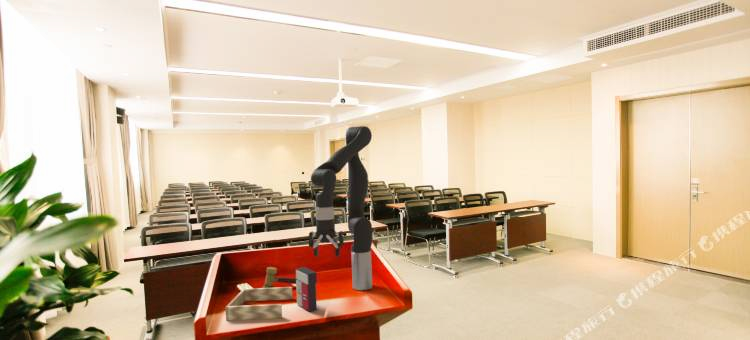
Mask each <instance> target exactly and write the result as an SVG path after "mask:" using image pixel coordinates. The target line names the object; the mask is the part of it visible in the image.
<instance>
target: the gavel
mask: <svg viewBox="0 0 750 340" xmlns="http://www.w3.org/2000/svg"><path fill="white" fill-rule="evenodd" d="M277 272H278V269H277V267H272V266H269V267H268V266H267V268H266V275H265V280H264V284H263V286H262V288H275V287H274V284H275V283H280V284H281V283H282V284H293V285H296V280H297V279H296V277H295V278H294V277H283V276H276V274H277Z"/></svg>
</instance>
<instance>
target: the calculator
mask: <svg viewBox="0 0 750 340" xmlns="http://www.w3.org/2000/svg"><path fill="white" fill-rule="evenodd" d="M295 278H296V279H297V280H296V284H295V288H296V289H295V292H296V304H297V305H298V306H300V307H301V308H303V309H305V310H306V311H308V312H314V311H316V310H317V309H318V308H317V307H318V306H317V289H316V287H317V282H318V281H317V280H318V279H317V272H316V271H313V270H312V269H309V268H307V267H305V266H303V267H299V268H298V267H297V268H296V269H295Z"/></svg>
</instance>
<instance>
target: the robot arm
mask: <svg viewBox="0 0 750 340" xmlns="http://www.w3.org/2000/svg"><path fill="white" fill-rule="evenodd" d="M372 136H373V135H372V132H371V129H370V128H369V127H368V126H366V125H365V126H363V125H360V126H359V125H358V126H350V127H348V128H347V130H346V132H345V145H344V146H343V147H341V148H339V149H337V150H336V151H335V152H334V153H332V155H331V156H330V157H329V158H328V159H327V160H326V161H325V162H323V163H322V164H320V165H319V166H318V167H316V168H315V169H313V171H312V173H311V175H310V181H311V183H312V185H313V186H315V187H323V188H322V191H321V192H318V193H316V195H315V225H316V226H315V227H316V228H315V229H316V231H313V230H312V231H310V232H309V233H308V247H310V248H313V256H315V258H318V257H319V247H318V246H319V245H320V243H326V244H329V243H331V244H332V245H333V246H334V247H335V248H334V255H335V256H334V257H335V258H338V257H339V256H340V253H341V252H340V250H341V249H340V248H341V247H343V246H344V245H345V243H344V233H343V231H342V230H341V231H336V230H335V229H336V225H335V224H336V223H335V208H334V193H335V189H336V185H337V174H339V173H340V172H341V171H343V168H345V166H346V165H347V168H348V169H347V171H348V174H347V175H348V176H347V177H348V179H347V181H348V182H347V183H348V184H347V185H348V204H349V208H348V209H349V210H348V219H347V228H348V231H349V233H351V234H352V235H353V244H351V245H350V252H351V253H350V254H351V257H350V258H351V274H352V275H351V277H352V289H354V290H355V291H356V290H357V291H368V290H372V289H373V271H372V269H373V268H372V266H373V265H372V245H373V227H372V222H371V220H370V219H369V218H367V217H365V209H364V208H365V201H366V198H367V195H368V192H369V191H368V189H369V176H368V171H367V170H366V168H365V166H364V164H363V162H362V161H361V158H360V154H359V152H361V151H362V150H363V149H365V148H366V147H367V146H368V145H369V144H370V143H371V141H372ZM315 237H317V240H316V241H315V242H314V238H315ZM336 237H337V238H338V241H337V239H336Z"/></svg>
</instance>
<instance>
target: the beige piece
mask: <svg viewBox="0 0 750 340" xmlns="http://www.w3.org/2000/svg"><path fill="white" fill-rule="evenodd" d="M292 299H293V287H292V286H285V287H283V286H281V287H274V288H263V287H260V288H258V287H256V288H242V289H241V291H240V292H239V293H238V294H236V296H235V297H234V298H233V299H232V300H231V301H230V302H229V303H228V304H227V305H226V306H225V307H224V308H225V320H226V321H238V320H239V321H241V320H242V321H243V320H245V321H246V320H265V319H267V320H268V319H282V318H283V309H282V303H276V304H274V303H273V304H272V303H271V304H251V305H250V304H249V305H247V304H246V305H245V304H244V303H245V302H246V301H247V302H248V301H249V302H250V301H252V302H253V301H259V302H260V301H279V300H280V301H281V300H283V301H284V300H292Z"/></svg>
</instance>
